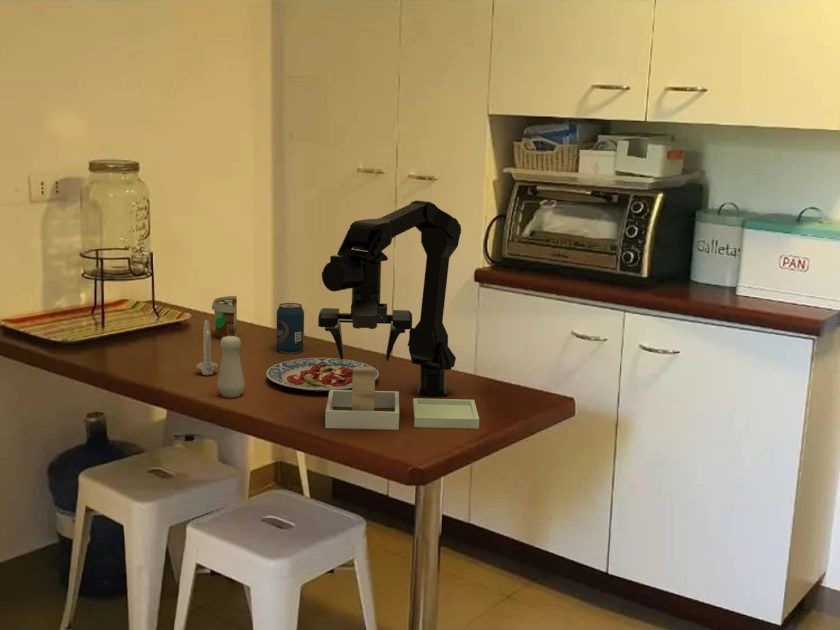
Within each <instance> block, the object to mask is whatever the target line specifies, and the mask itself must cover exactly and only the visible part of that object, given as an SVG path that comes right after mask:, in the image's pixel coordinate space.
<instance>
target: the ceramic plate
mask: <svg viewBox="0 0 840 630" xmlns="http://www.w3.org/2000/svg"><path fill="white" fill-rule="evenodd" d="M353 367H355V368H375V367H373V366H372V365H370V364H367V363H364V362H360V361H356V360H352V359H344V358H343V360H341V358H332V357H308V358H298V359H291V360H287V361H283V362H278V363H277V364H273V365H272V366H271V367H269V368H268V369H267V370H266V377H267V378H268V380H270V381H271V382H273V383H276V384H278V385H281V386H284V387H288V388H292V389H293V388H294V389H298V390H304V391H307V392H330V390H350V389H352V380H353ZM378 377H379V371H378V369H376V368H375V381H376V380H377V379H378Z"/></svg>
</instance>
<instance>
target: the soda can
mask: <svg viewBox="0 0 840 630" xmlns="http://www.w3.org/2000/svg"><path fill="white" fill-rule="evenodd" d="M304 346H305V310H304V309H303V305H302V304H301V303H297V302H284V303H280V304H279V305H278V308H277V311H276V348H277V350H278V351H279V353H281V354H282V353H283V354H287V355H289V354H291V355H292V354H298V353H301V352H302V351H303V348H304Z"/></svg>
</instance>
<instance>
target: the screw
mask: <svg viewBox="0 0 840 630" xmlns="http://www.w3.org/2000/svg"><path fill="white" fill-rule="evenodd" d="M210 327H211V326H210V320H208V319H205V320H204V321H203V332H202V333H203V337H202V338H203V343H202V344H203V346H202V347H203V351H202V353H203V354H202V355H203V359H202V360H203V361H202V362H201V361H200V362H198V363H197V364H196V368H197V369H200V370H201V374H202V376H211V375H214V370H215V369H217V368H218V367H219V364H218V363H216V362H214V361H212V355H211V354H212V350H211V349H212V348H211V347H212V340H211V339H212V338H211V337H212V333H211V328H210Z"/></svg>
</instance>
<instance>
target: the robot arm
mask: <svg viewBox="0 0 840 630" xmlns="http://www.w3.org/2000/svg"><path fill="white" fill-rule="evenodd" d="M413 228H416V229H417V230H418V231H419V232H420V243H421V246H422V248H423V251H424V252H425V254H426V262H425V268H424V269H425V270H424V271H425V272H424V280H423V289H422V298H421V308H420V309H421V310H420V316H419V317H420V318H419V321H418V322H417V324H416V325H415V327H413V314H412V312H411V311H410V310H408V309H407V310H405V309H393V310H392V314H388V303H381V288H382V286H381V283H382V282H381V279H382V278H381V277H382V262H387V261H388V259H389V257H388V256H387V255H386V254H385V253H384V252H383V251H384V250H385V249H387V248H388V247H389V246H390V245H392V241H393V239H394V238H395V237H397V236H399V235H401V234H404V232H405V233H406V232H407V231H409V230H411V229H413ZM461 234H462V225H461V223H460V222H459V220H458V219H457V218H456V217H453V216H452V215H451V214H449V213H447V212H446V211H444V210H442V209H440V208H439V207H438V206H437V205H436V204H434V203H433V202H431V201H425V200H418V199H416V200H414V201H411V202H410V203H409V204H407V205H405V206H403V207H401V208H399V209H396V210H394V211H392V212H390V213H388V214H386V215H384V216H382V217H381V216H380V217H379V218H368V219H367V218H365V219H359V220H355V221H354V222H352V223H351V224H349V229H348V231H347V232H346V234H345V237H344V238H343V241H342V243H341V245H340V247H339V249H338V251H337V255H331V256H330V260H329V261H330V262H328V263H326V264H325V266H324V267H323V270H322V271H321V279H322V283H323V284H324V287H325V288H326V289H327V290H328V291H330V292H340V291H345V290H348V289H349V290H350V289H351V304H350V313H346V312H342V313H341V312H340V308H338V307H337V308H331V307H323V308H321V309H320V310H319V313H318V317H317V318H318V320H317V322H318V324H317V326H318V327H320V328H324V331H325V332H329V333H330V334H331V336H332V338H333V340H334V342H335V344H336V347H337V351H338V355H339V357H340V358H339V359H341V360H343V359H344V343H343V342H344V341H343V333H342V324H341V323H349V324H352V328H354V329H370V330H375V329H376V328H378V324H380V325H381V324H384V325H385V324H387V325H390V326H389V327H390V328H389V335H388V340H387V341H388V342H387V347H386V357H385V360H386V362H388V361H389V359H390V357H391V355H392V351H393V349H394V345H395V343H396V341H397V339H398V337H399V336H400V334H406V330H409V335H408V336H409V339H408V342H407V347H408V351H409V355H410V360H411V364H413V365H418V366H419V384H417V385H416V387H417V388H416V389H417V396H418V395H419V396H435V397H436V396H437V397H438V396H439V397H440V396H441V397H442V396H443V397H445V396H446V397H447V396H448V391H447V386H446V370H447V371H449V370H450V371H451V370H452V369H453V368H454V367H455V364H456V360H457V358H456V356H455V354H454V353H453V352H452V350H451V348H450V347H449V335H448V332H447V330H446V327H445V326H444V323H443V319H444V313H445V311H444V310H445V301H446V292H447V283H448V275H449V265H450V264H449V263H450V258H451V257H452V255H453V254H454V252H455V251H456V250H457V248H458V246H459V242H460V237H461Z"/></svg>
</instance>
